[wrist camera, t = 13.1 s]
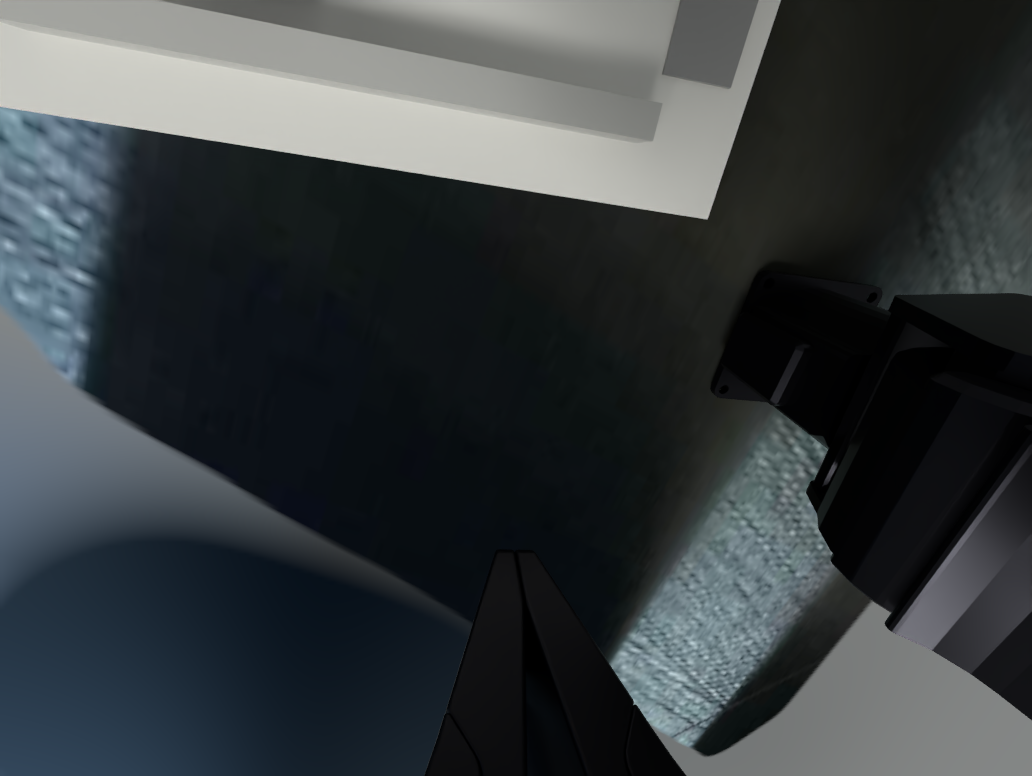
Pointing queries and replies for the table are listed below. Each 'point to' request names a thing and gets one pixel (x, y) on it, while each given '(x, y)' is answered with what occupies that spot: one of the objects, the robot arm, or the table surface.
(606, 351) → the table surface
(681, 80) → the white rail tray
